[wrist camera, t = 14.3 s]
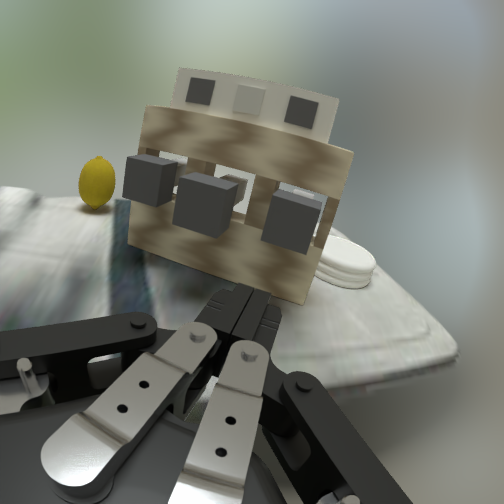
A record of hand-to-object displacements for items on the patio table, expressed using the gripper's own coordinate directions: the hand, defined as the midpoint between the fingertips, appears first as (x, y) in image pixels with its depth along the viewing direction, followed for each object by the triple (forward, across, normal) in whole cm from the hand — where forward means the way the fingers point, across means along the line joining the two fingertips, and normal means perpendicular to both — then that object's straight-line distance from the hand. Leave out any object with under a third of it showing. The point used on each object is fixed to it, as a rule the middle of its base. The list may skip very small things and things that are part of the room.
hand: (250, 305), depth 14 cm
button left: (+18, +14, +2) cm, 23 cm away
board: (+20, +7, +9) cm, 23 cm away
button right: (+18, 0, +2) cm, 18 cm away
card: (+18, +7, -7) cm, 20 cm away
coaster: (+29, -7, +10) cm, 31 cm away
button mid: (+15, +7, +2) cm, 17 cm away
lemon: (+23, +28, +9) cm, 37 cm away
